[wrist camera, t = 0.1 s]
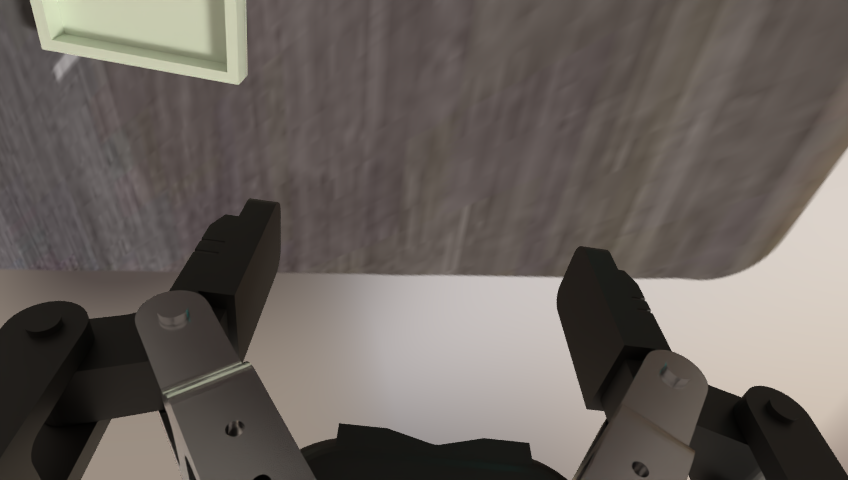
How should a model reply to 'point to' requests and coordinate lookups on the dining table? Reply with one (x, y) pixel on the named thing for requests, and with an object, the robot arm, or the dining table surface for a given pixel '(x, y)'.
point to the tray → (151, 34)
